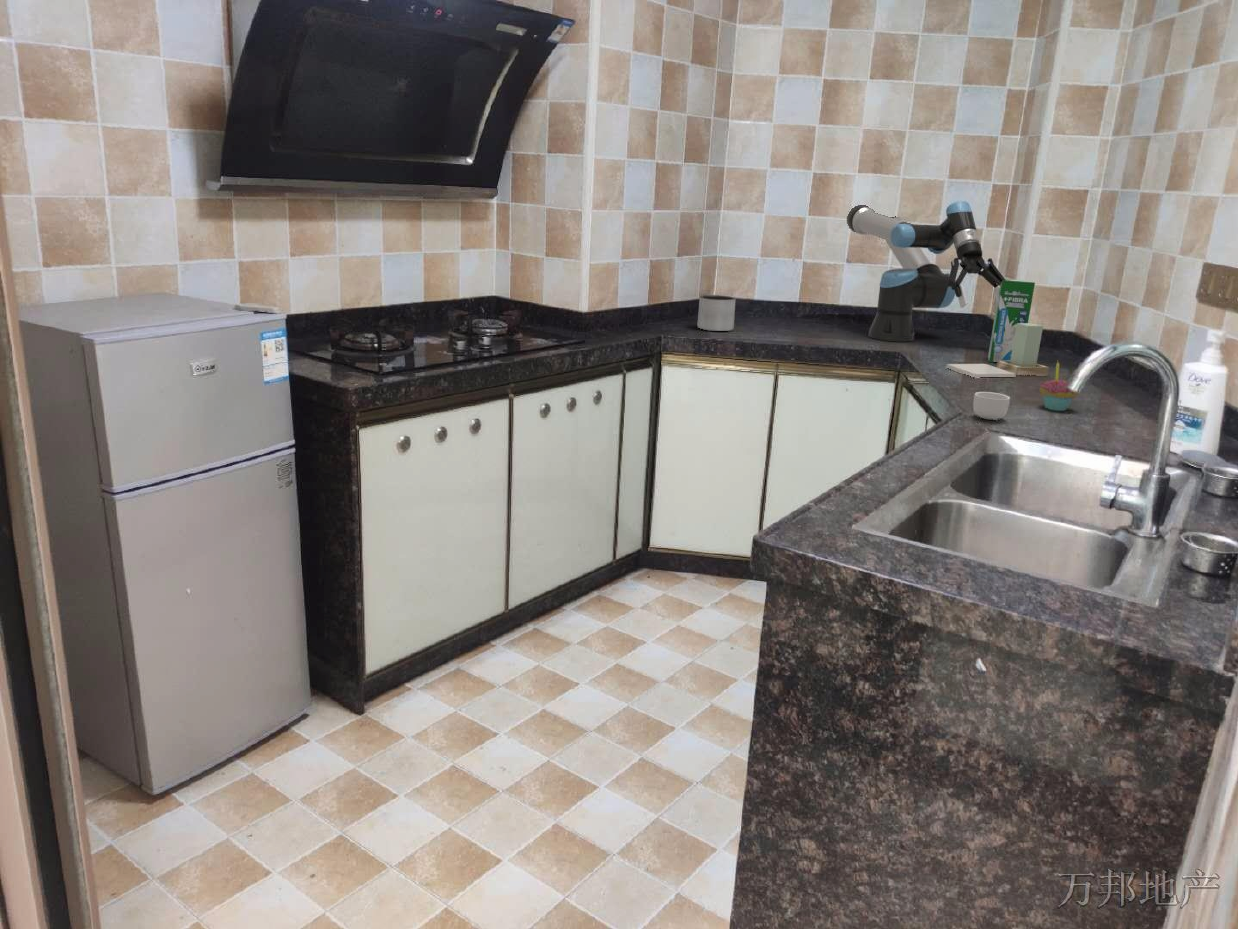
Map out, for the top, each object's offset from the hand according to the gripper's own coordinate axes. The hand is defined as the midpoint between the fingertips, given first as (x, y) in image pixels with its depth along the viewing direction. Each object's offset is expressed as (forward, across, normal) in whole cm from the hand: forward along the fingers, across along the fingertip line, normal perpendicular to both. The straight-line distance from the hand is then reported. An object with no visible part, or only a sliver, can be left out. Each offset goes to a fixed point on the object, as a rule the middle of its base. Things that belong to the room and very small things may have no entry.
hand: (982, 305), depth 293 cm
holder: (+29, -4, -14) cm, 32 cm away
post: (+29, -4, -14) cm, 32 cm away
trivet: (+29, -18, -14) cm, 37 cm away
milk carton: (+20, +2, -1) cm, 20 cm away
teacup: (+57, -50, -52) cm, 92 cm away
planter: (-15, -72, +46) cm, 87 cm away
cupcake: (+53, -26, -47) cm, 76 cm away
